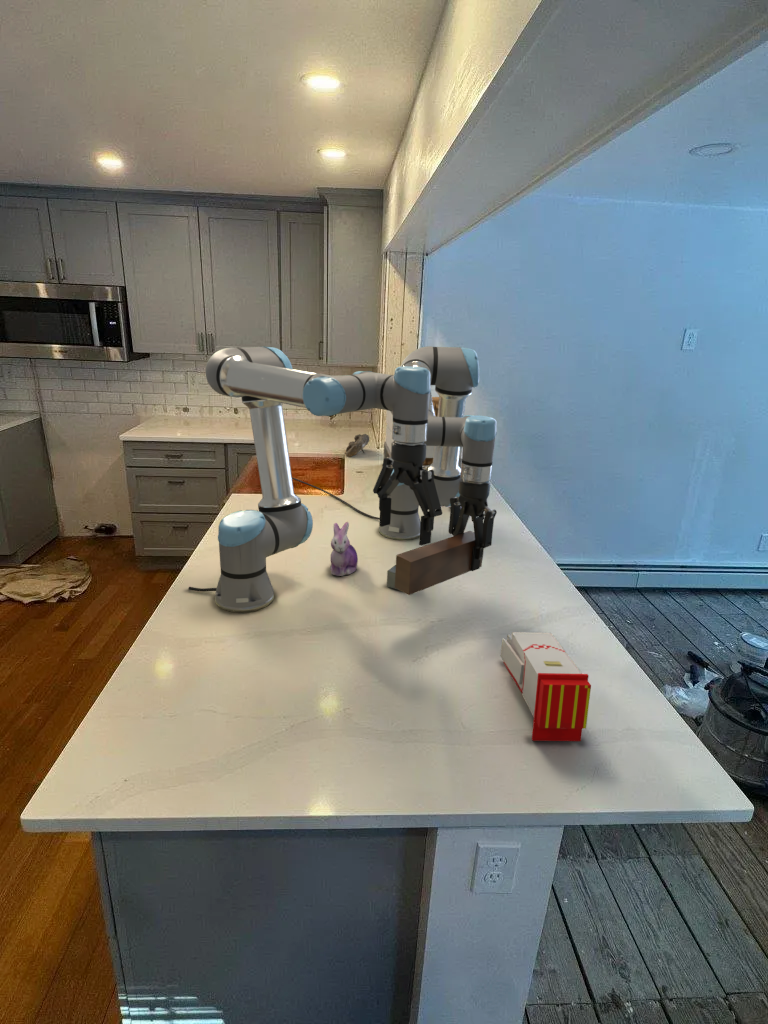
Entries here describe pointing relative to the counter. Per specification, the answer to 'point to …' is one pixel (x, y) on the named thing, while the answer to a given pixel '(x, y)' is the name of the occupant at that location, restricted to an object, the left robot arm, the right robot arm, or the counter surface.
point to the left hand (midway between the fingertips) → (404, 534)
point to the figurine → (342, 552)
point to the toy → (548, 685)
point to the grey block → (391, 577)
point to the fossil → (357, 445)
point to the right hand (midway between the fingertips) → (466, 565)
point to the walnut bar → (434, 563)
